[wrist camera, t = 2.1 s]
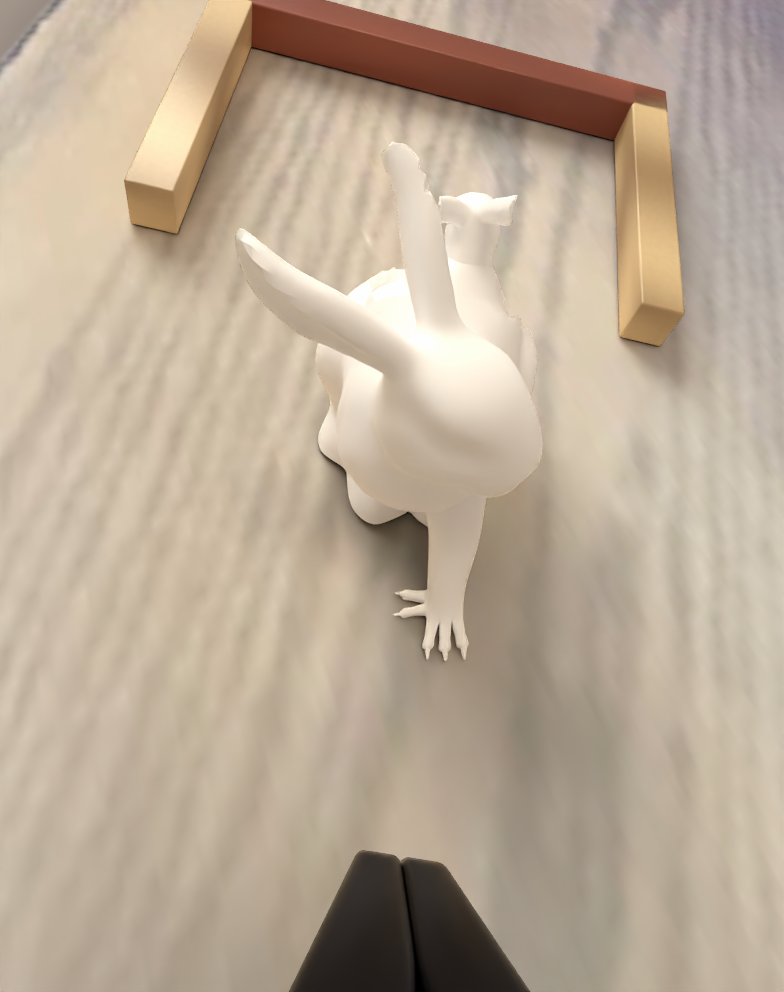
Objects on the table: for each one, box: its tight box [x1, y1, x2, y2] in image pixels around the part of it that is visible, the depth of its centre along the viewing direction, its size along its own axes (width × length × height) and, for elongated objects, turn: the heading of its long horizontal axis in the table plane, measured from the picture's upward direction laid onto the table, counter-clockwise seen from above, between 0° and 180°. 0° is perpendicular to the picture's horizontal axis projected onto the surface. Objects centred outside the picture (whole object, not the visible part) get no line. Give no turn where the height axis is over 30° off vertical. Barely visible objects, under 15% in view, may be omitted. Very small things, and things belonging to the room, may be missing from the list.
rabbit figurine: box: [235, 141, 543, 661], centre depth 19 cm, size 12×8×10 cm, turn 168°
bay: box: [124, 0, 684, 346], centre depth 29 cm, size 13×19×2 cm
